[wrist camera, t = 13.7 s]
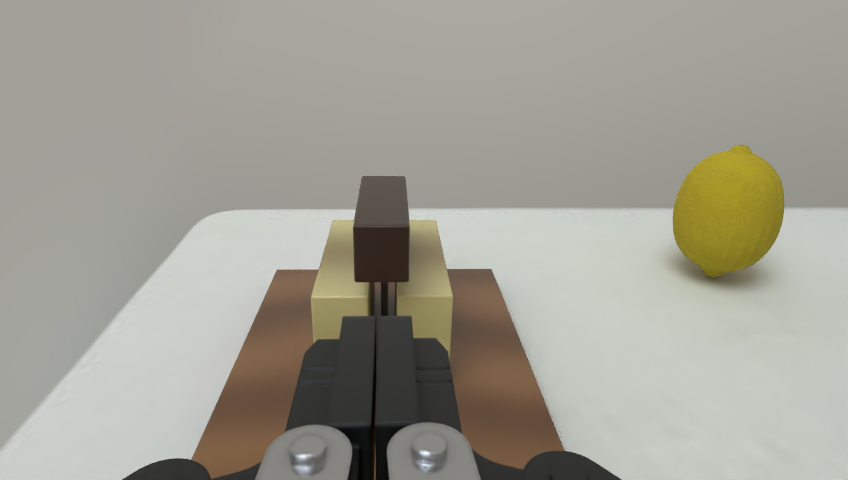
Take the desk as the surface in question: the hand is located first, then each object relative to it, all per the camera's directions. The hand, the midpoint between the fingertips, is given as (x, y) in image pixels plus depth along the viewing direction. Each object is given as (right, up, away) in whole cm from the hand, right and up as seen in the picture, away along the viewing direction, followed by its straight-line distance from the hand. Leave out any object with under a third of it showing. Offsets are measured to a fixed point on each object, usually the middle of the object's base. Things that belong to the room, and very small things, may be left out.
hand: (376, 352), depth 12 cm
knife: (-1, -1, +13) cm, 13 cm away
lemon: (+18, 0, +21) cm, 28 cm away
